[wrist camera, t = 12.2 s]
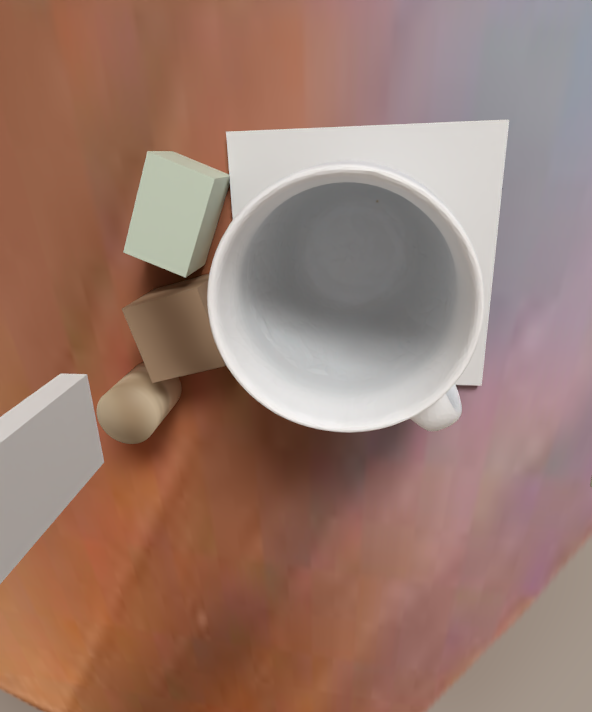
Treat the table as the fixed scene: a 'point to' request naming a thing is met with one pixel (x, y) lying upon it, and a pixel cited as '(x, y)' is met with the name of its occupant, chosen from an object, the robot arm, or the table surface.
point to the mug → (348, 299)
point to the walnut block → (174, 330)
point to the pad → (403, 152)
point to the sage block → (176, 212)
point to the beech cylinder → (137, 405)
